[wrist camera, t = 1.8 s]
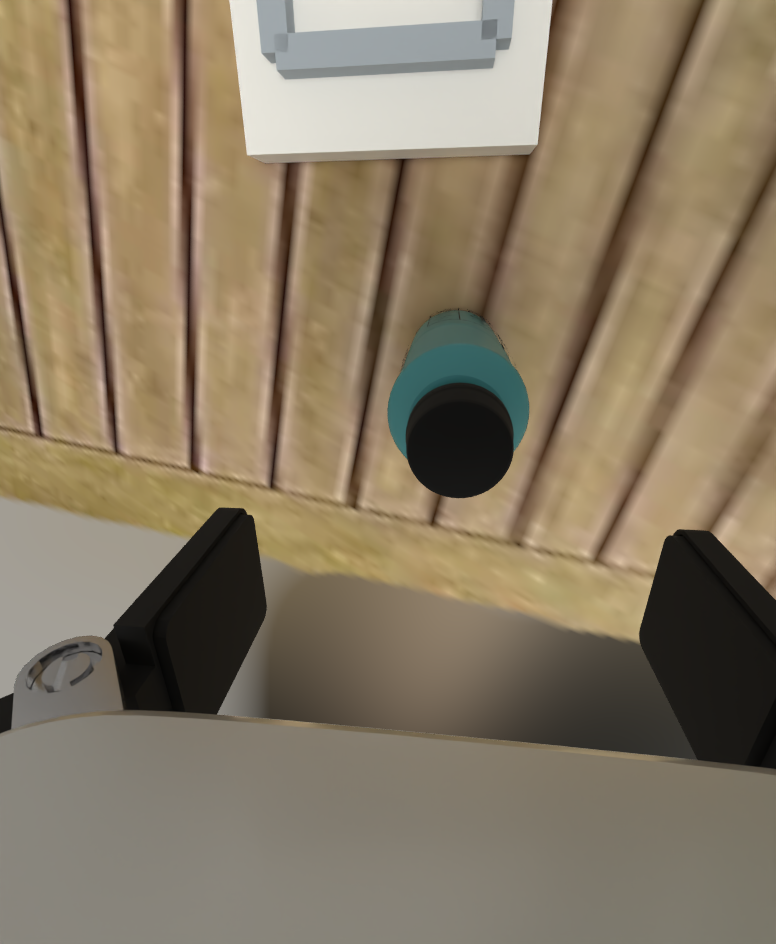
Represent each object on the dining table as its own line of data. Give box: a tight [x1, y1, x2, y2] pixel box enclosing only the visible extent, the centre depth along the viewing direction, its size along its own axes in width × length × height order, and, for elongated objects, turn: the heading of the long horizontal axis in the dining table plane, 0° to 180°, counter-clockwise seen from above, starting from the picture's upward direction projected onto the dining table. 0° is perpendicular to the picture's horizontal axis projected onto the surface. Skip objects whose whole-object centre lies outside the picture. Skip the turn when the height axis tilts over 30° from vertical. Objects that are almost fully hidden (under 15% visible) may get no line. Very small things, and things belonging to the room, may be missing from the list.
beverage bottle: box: [388, 308, 529, 498], centre depth 26 cm, size 6×7×20 cm
